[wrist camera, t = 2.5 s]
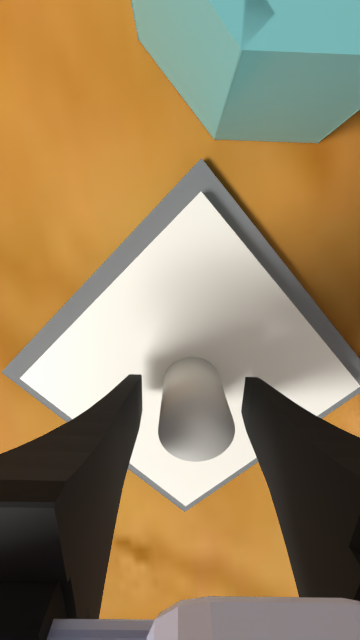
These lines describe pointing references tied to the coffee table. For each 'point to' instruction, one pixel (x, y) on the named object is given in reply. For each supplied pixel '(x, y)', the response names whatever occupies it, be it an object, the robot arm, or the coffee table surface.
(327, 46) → the bowl
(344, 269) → the coffee table surface
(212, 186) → the mat
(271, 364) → the lid
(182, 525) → the coffee table surface
